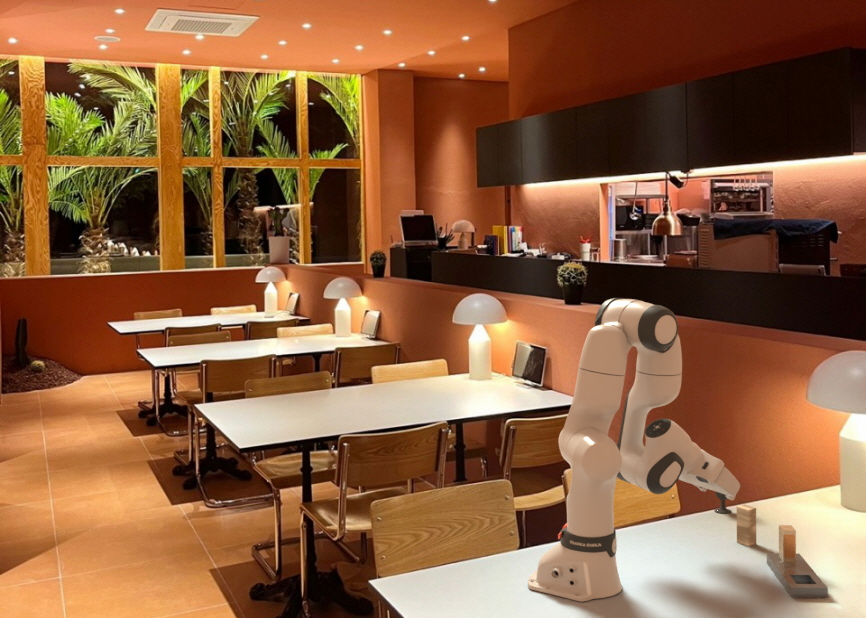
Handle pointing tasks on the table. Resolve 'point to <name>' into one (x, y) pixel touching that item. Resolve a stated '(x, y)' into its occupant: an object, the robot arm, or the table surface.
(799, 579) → the gray block holder
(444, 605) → the table surface
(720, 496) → the sundae
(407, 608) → the table surface
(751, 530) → the wooden block
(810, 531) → the table surface
